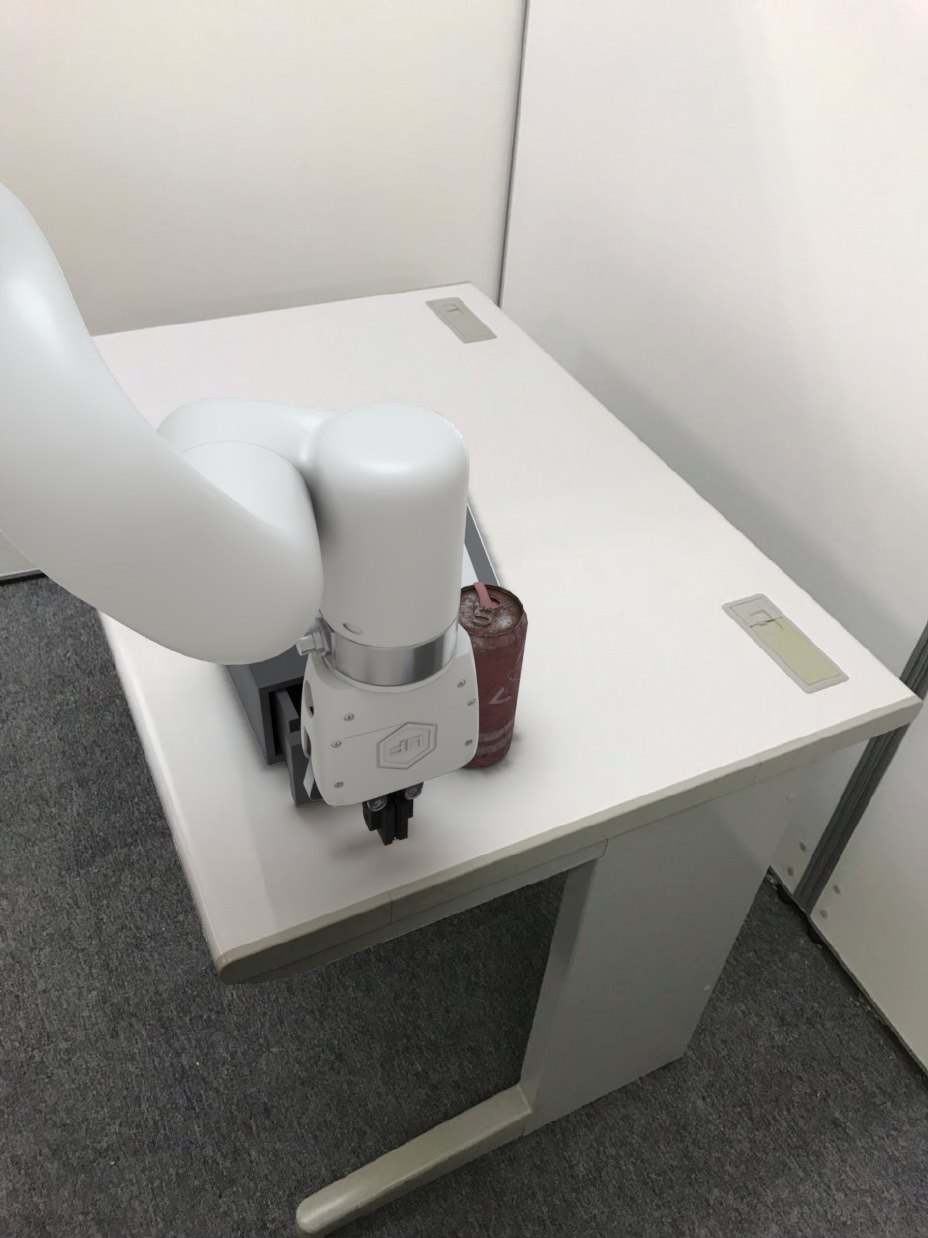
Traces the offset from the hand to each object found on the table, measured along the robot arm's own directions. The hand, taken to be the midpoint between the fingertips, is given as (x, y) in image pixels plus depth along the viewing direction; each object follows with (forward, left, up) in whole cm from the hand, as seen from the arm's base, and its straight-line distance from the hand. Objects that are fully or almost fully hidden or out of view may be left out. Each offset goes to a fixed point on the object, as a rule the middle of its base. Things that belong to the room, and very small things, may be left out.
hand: (387, 825), depth 65 cm
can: (+13, 0, -4) cm, 13 cm away
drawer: (+6, +8, -3) cm, 10 cm away
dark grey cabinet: (+10, +14, -4) cm, 18 cm away
